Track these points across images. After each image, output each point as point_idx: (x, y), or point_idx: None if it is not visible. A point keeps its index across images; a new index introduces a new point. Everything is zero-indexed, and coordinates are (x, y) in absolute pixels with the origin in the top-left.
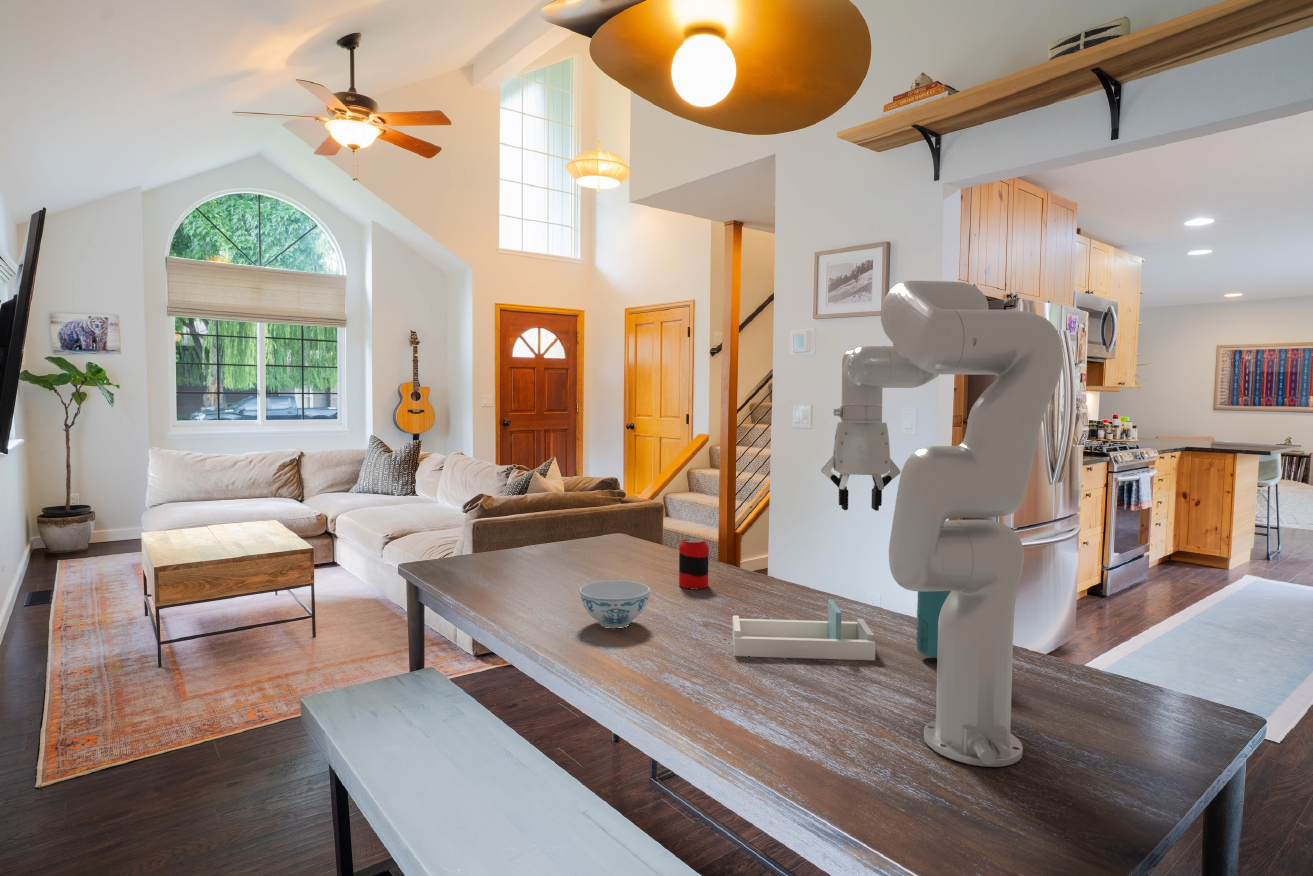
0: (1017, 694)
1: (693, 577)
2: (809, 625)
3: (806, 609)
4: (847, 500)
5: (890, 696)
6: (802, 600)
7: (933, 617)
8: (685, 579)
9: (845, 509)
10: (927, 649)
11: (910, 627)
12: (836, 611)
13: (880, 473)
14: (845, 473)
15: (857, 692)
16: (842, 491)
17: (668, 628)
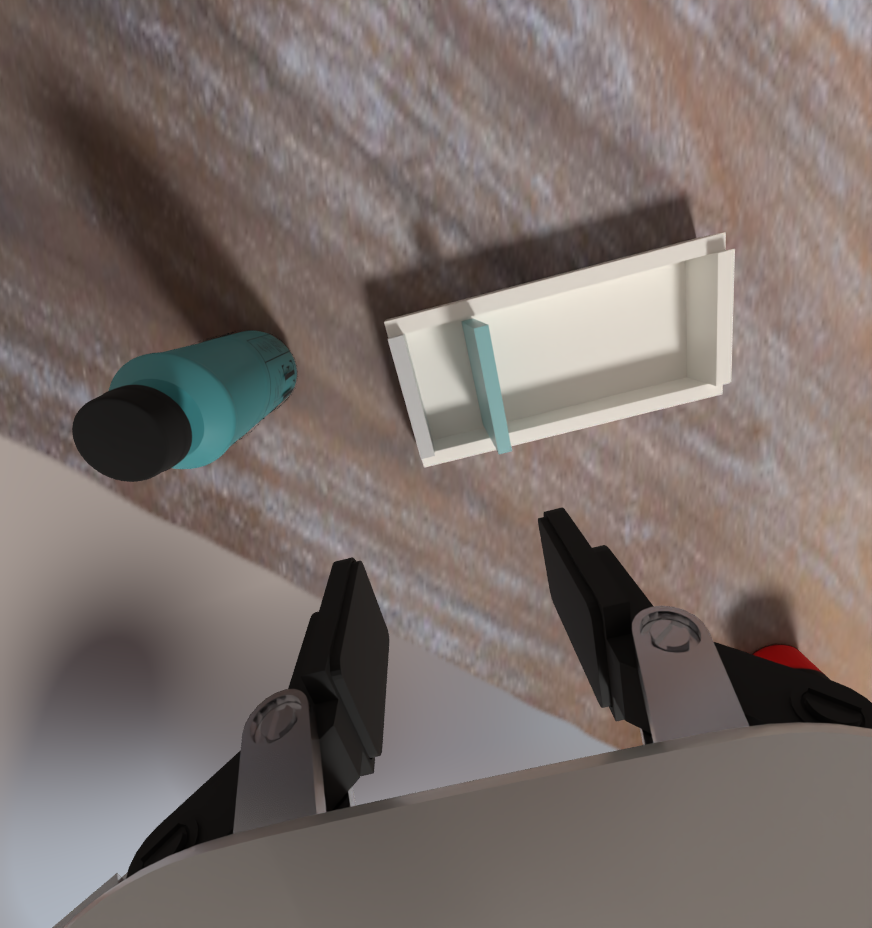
0: (71, 195)
1: (792, 664)
2: (539, 423)
3: (540, 597)
4: (563, 549)
5: (335, 71)
6: (549, 646)
7: (221, 341)
8: (804, 659)
9: (555, 509)
10: (266, 335)
11: (331, 554)
12: (487, 339)
13: (196, 853)
14: (775, 729)
15: (411, 72)
16: (635, 613)
17: (839, 383)
